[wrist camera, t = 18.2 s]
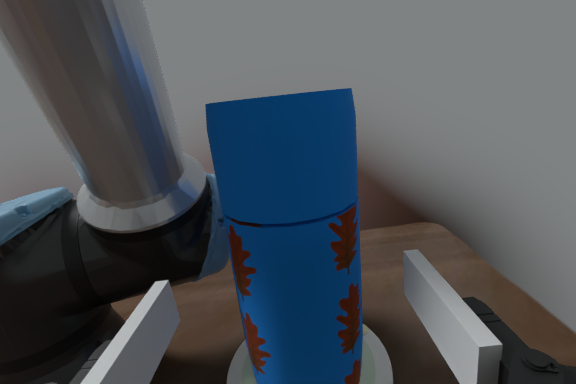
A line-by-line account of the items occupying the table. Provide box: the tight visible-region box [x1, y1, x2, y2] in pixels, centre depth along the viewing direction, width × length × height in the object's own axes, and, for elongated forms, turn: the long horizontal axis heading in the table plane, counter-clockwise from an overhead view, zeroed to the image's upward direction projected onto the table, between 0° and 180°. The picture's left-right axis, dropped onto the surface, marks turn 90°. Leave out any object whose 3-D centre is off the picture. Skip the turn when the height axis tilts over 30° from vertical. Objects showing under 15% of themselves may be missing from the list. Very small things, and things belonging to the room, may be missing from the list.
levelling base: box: [227, 324, 393, 384], centre depth 30 cm, size 16×16×4 cm
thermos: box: [206, 88, 363, 384], centre depth 25 cm, size 11×11×25 cm
